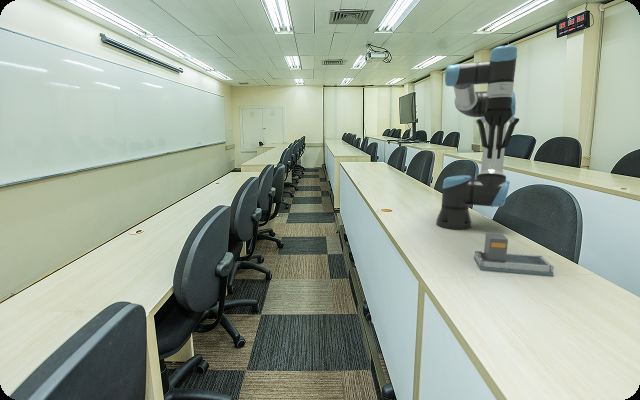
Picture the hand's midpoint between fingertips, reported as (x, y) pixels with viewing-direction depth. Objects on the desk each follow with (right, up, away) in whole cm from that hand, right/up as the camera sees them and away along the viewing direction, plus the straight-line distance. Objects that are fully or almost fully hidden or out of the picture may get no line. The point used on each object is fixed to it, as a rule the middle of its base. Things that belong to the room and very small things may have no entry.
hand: (492, 168), depth 110 cm
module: (-3, -31, -6) cm, 32 cm away
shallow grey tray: (+2, -33, -7) cm, 33 cm away
